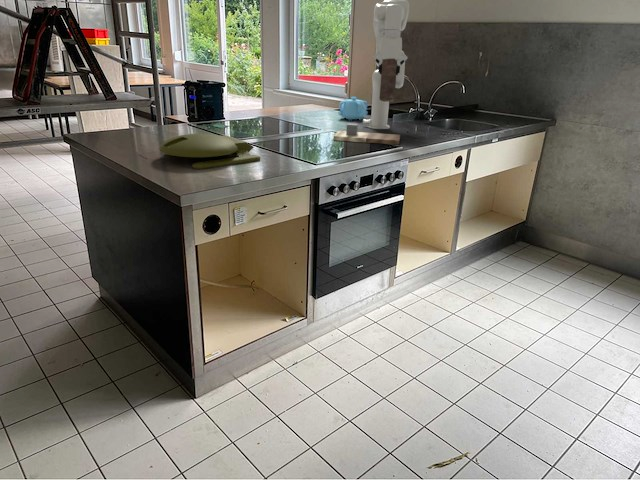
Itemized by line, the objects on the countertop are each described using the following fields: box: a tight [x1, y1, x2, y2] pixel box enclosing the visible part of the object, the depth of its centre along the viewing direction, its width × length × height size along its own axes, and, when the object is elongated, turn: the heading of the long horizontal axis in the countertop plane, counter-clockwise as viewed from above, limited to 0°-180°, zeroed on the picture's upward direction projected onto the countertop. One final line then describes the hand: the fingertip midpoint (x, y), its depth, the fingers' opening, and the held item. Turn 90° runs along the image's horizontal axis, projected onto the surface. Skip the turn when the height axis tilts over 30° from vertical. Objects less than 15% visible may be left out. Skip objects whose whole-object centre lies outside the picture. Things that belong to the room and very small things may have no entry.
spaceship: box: [159, 133, 261, 170], centre depth 193 cm, size 35×31×10 cm
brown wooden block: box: [379, 59, 397, 103], centre depth 232 cm, size 8×7×20 cm
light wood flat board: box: [333, 130, 401, 146], centre depth 244 cm, size 32×16×2 cm, turn 80°
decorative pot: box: [337, 96, 369, 121], centre depth 302 cm, size 20×20×14 cm
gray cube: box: [345, 122, 359, 136], centre depth 243 cm, size 5×5×5 cm
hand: (388, 74), depth 231 cm, fingers closed on brown wooden block, 7 cm apart
